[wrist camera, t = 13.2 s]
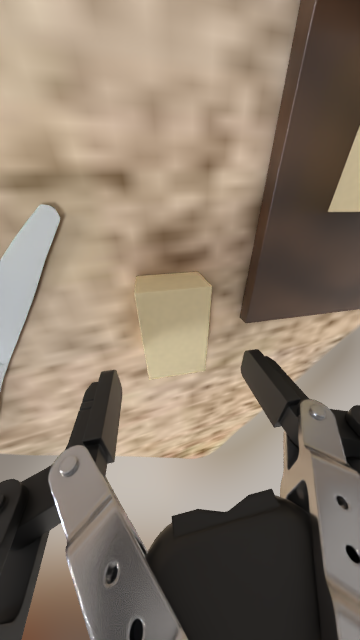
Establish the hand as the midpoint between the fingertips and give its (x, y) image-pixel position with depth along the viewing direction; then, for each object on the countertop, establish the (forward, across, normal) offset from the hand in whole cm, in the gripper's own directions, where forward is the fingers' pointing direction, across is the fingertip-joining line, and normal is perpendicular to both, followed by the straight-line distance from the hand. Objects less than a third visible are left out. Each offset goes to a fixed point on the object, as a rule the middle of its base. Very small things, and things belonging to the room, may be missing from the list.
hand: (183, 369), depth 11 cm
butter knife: (+6, +15, +2) cm, 16 cm away
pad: (+6, 0, 0) cm, 6 cm away
